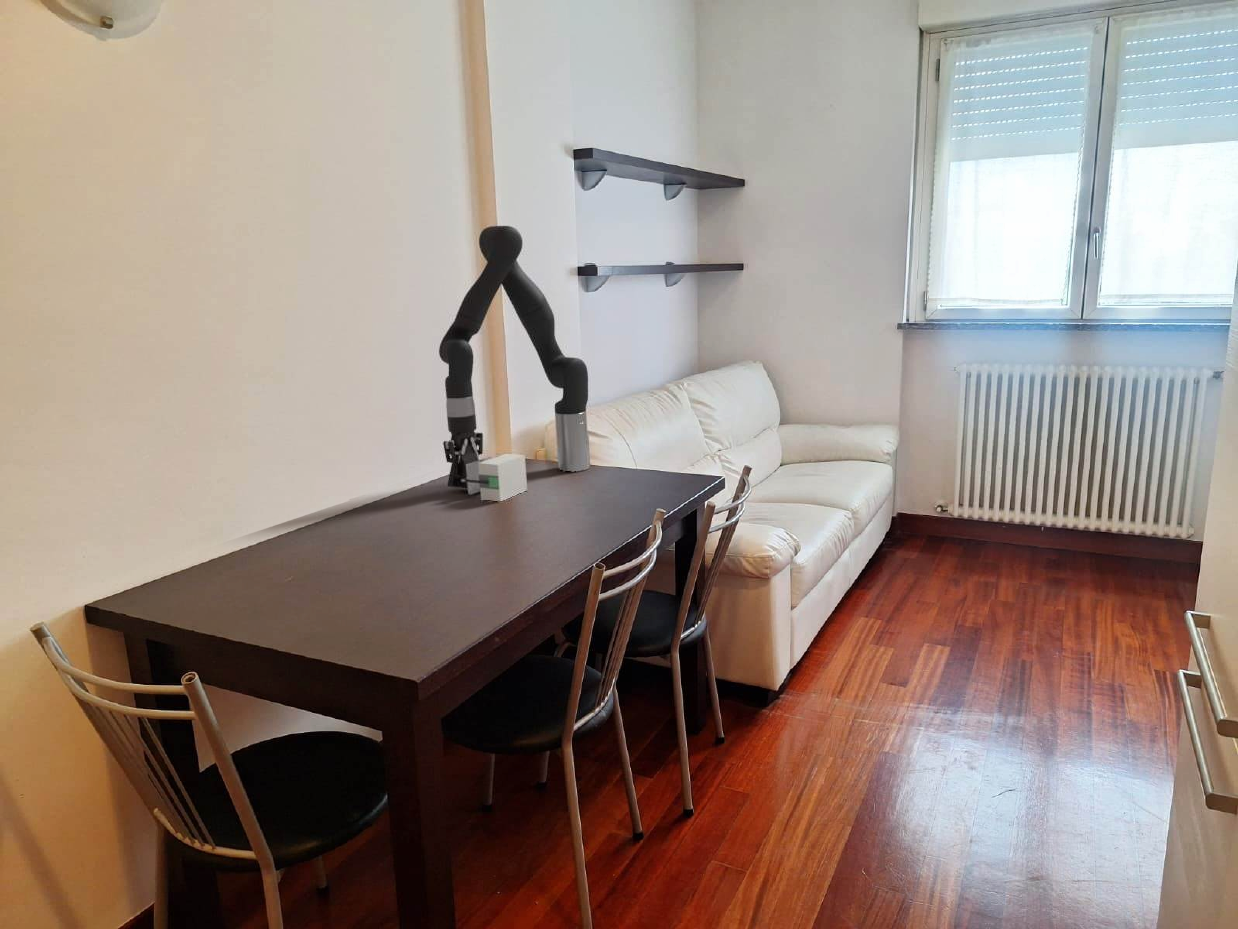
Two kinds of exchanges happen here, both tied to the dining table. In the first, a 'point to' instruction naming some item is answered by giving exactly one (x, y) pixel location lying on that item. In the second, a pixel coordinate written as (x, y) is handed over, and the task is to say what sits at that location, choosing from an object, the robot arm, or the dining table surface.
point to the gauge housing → (502, 477)
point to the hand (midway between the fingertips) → (466, 473)
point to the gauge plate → (474, 476)
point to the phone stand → (465, 459)
